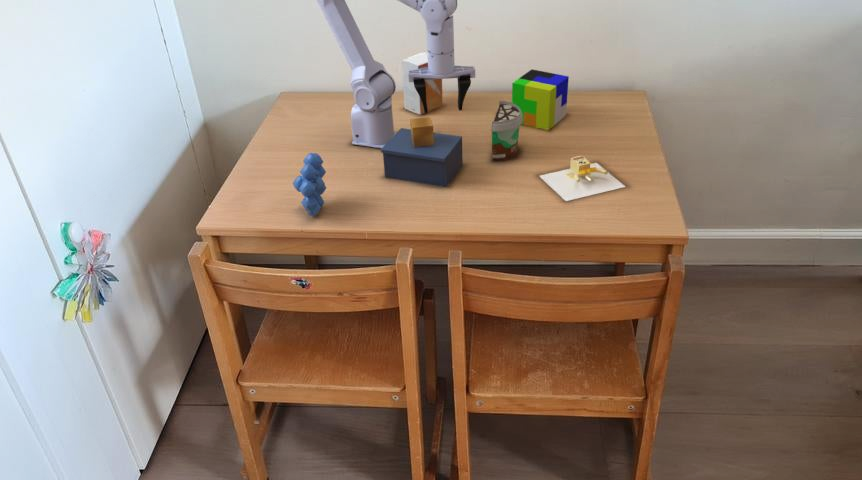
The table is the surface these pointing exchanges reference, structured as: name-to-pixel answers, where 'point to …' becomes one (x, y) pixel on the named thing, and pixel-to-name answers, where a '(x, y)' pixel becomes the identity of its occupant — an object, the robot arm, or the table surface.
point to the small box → (432, 86)
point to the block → (422, 132)
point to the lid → (437, 152)
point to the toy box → (424, 168)
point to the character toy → (581, 180)
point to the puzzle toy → (541, 98)
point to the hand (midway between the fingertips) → (442, 110)
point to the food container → (505, 131)
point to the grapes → (311, 183)
